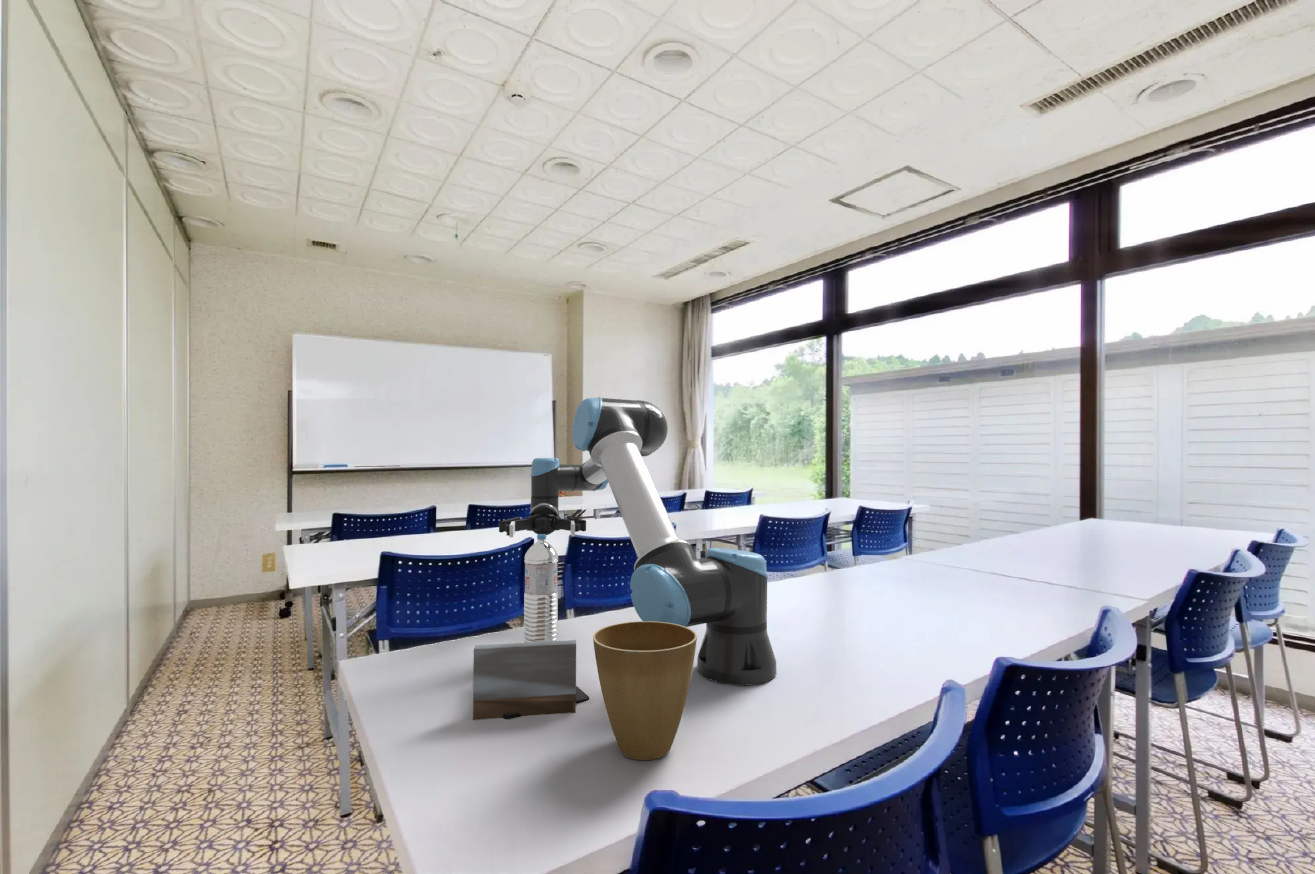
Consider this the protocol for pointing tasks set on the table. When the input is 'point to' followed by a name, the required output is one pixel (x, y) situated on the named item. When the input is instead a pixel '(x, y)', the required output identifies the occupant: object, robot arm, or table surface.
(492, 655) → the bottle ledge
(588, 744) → the table surface
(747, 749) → the table surface
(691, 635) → the plant pot
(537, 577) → the water bottle
